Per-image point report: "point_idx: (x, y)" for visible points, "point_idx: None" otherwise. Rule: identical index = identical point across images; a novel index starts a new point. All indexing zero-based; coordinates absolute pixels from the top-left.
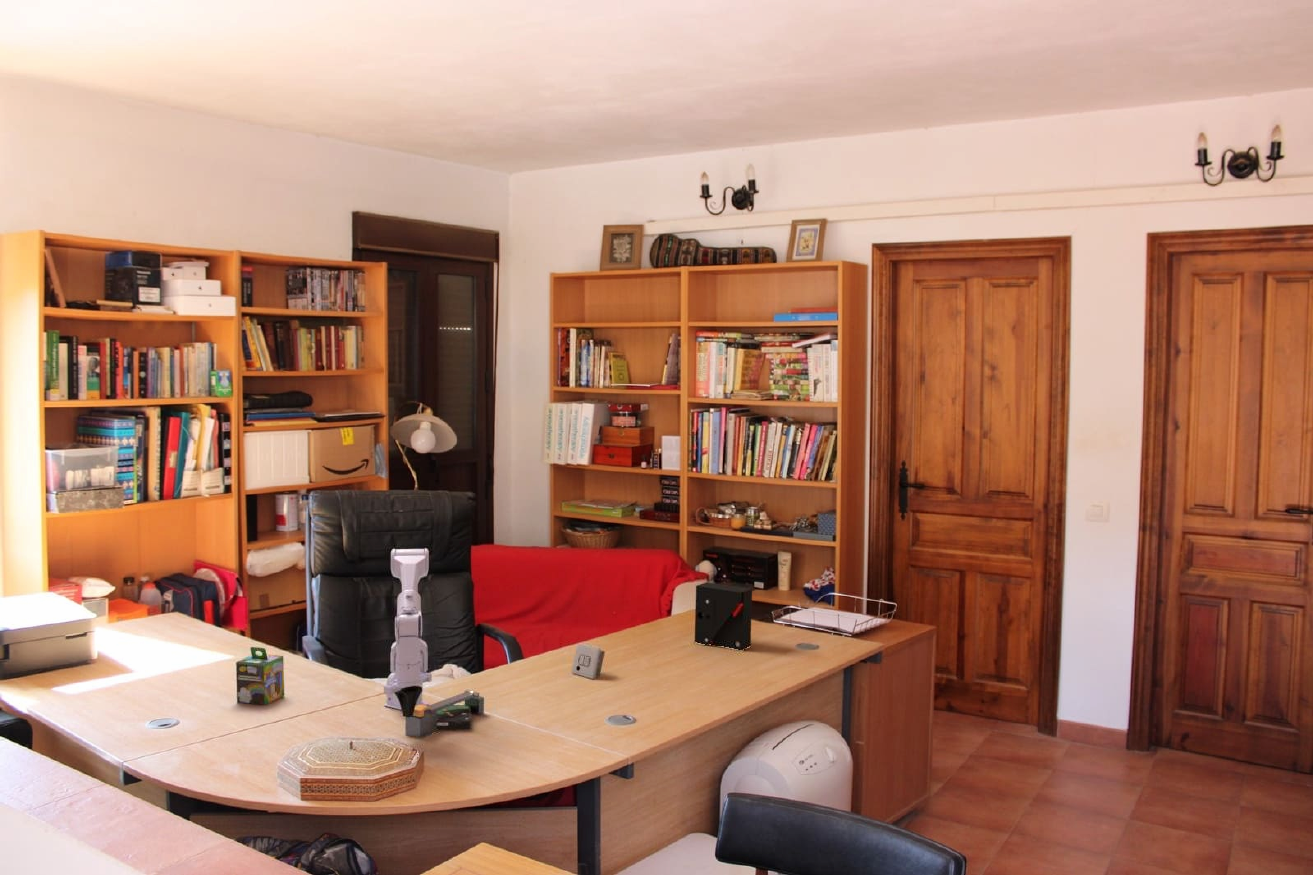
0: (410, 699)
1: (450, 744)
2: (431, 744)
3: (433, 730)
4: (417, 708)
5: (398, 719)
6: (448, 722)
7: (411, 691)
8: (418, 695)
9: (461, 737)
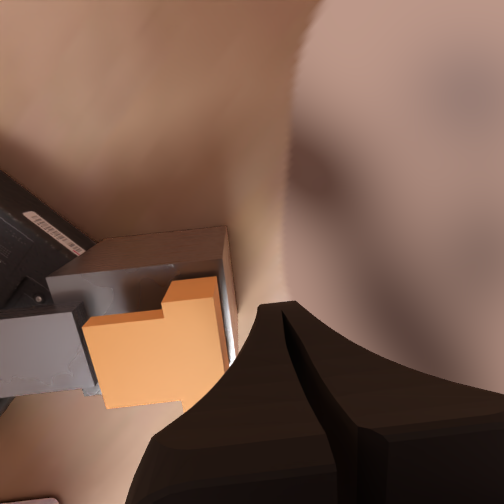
0: (377, 371)
1: (167, 20)
2: (241, 113)
3: (125, 240)
4: (186, 352)
5: (137, 465)
6: (18, 212)
7: (434, 480)
8: (230, 396)
9: (45, 64)
